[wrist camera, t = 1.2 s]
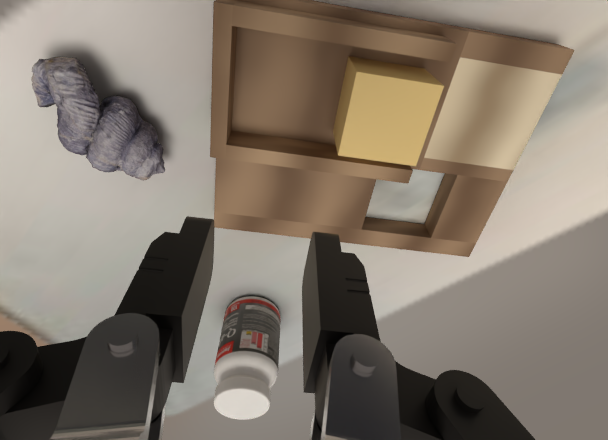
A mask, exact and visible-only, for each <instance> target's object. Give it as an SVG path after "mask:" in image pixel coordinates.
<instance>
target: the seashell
mask: <svg viewBox="0 0 608 440" xmlns="http://www.w3.org/2000/svg"><path fill="white" fill-rule="evenodd" d="M85 71H86V70H85V69H84V67H83V65H82V64H81V63H80V62H79V61H78V60H77V59H76V58H66V57H54V58H50V59H39V61H38V62H37V63H36V64H35V65H34V66H33V67H32V72H33V76H32V82H33V83H32V86H33V90H34V92H35V94H36V97H37V102H38V105H39V107H49V106H51V105H54V104H56V106H57V115H58V124H57V127H58V136H59V140H60V141H61V143H62V144H63V146H64V147H65V148H66V149H67V150H68V151H70V152H73V153H75V154H80V155H86V154H87V156H86V158H87V159H88V160H89V161H90V163H91V164H92V167H93V168H96V169H98V170H99V171H103V172H114V171H116V170H120V171H124V172H125V173H126V174H128V175H130V176H132V177H135V178H138V179H140V180H147V179H149V178H150V177H151V176H152V175H153V174H157V173H163V172H165V168H164V161H163V159H162V154H163V147H162V145H161V144H159V143H157V140H158V137H157V132H156V130H155V128H154V127H153V126H152V125H151V124H150V123H148V122H145V121H143V120H142V118H141V117H140V116H139V113H138V110H137V108H136V106H135V105H134V104H133V102H132V101H131V100H130V99H128V98H123V97H119V96H112V97H107V98H105V99H104V100H102V103H101V105H100V104H99V99H98V95H97V94H96V93H95V89H94V88H93V87H92V83H91V82H90V81H89V77H88V76H87V73H86V72H85Z"/></svg>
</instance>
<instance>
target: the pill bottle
mask: <svg viewBox="0 0 608 440" xmlns="http://www.w3.org/2000/svg"><path fill="white" fill-rule="evenodd" d="M279 338H280V313H279V310H278V308H277V307H276V306H275V305H274V304H273V303H272V302H270V301H269V300H267V299H264V298H261V297H255V296H248V297H242V298H239V299H237V300H235V301H234V302H232V303H231V304H230V305H229V306H228V308H227V310H226V313H225V317H224V322H223V327H222V332H221V337H220V342H219V347H218V352H217V357H216V362H215V368H214V376H215V379H216V381H217V383H218V385H217V387H216V390H215V397H214V406H215V408H216V410H217V411H218V412H219V413H221V414H222V415H224V416H226V417H229V418H233V419H242V420H243V419H252V418H256V417H259V416H261V415H263V414H264V413H266V411H267V410H268V409H269V406H270V397H271V391H270V388H271V387H272V386H273V384H274V383H275V381H276V379H277V374H278V359H279Z"/></svg>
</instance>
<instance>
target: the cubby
mask: <svg viewBox="0 0 608 440" xmlns="http://www.w3.org/2000/svg"><path fill="white" fill-rule="evenodd" d="M237 27H242V28H248V29H254V30H260V31H266V32H272V33H278V34H284V35H289V36H295V37H301V38H307V39H313V40H319V41H325V42H331V43H337V44H343V45H349V46H355V47H361V48H367V49H373V50H379V51H385V52H391V53H397V54H403V55H409V56H414V57H420V58H426V59H432V60H438V61H444V62H451V60H452V57H453V54H454V51H455V48H456V45H457V44H456V43H454V42H452V41H451V40H449V39H447V38H445V37H443V36H439V35H433V34H427V33H421V32H416V31H410V30H404V29H398V28H393V27H387V26H381V25H376V24H370V23H364V22H358V21H353V20H347V19H341V18H336V17H330V16H324V15H318V14H313V13H307V12H301V11H295V10H290V9H284V8H278V7H273V6H267V5H261V4H255V3H250V2H244V1H238V0H216V1H214V12H213V57H212V101H211V145H210V157H214V158H222V159H229V160H237V161H244V162H252V163H259V164H267V165H274V166H282V167H289V168H297V169H304V170H312V171H319V172H326V173H334V174H341V175H349V176H356V177H364V178H371V179H379V180H386V181H394V182H401V183H409V180H410V177H411V174H412V171H413V170H412V168H411V166H410V165H403V164H396V163H388V162H381V161H374V160H367V159H360V158H352V157H345V156H338V153H337V148H336V145H331V144H324V143H317V142H310V141H303V140H296V139H289V138H281V137H274V136H267V135H260V134H253V133H246V132H239V131H232V115H233V97H234V78H235V60H236V41H237Z"/></svg>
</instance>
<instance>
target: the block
mask: <svg viewBox="0 0 608 440" xmlns="http://www.w3.org/2000/svg"><path fill="white" fill-rule="evenodd" d="M443 88H444V85H442V84H441V83H440V82H439V81H438V80H437V79H436V78H435V77H433V76H432V75H431V74H430V73H429V72H428V71H427V70H426V69H424V68H418V67H412V66H406V65H399V64H393V63H387V62H381V61H375V60H369V59H363V58H357V57H351V56H348V61H347V66H346V71H345V76H344V80H343V85H342V90H341V95H340V100H339V105H338V109H337V114H336V119H335V124H334V129H333V134H334V139H335V143H336V148H337V153H338V156H345V157H352V158H360V159H367V160H374V161H381V162H388V163H396V164H403V165H410V166H416V165H417V162H418V159H419V156H420V153H421V150H422V148H423V145H424V142H425V139H426V136H427V133H428V131H429V128H430V125H431V122H432V119H433V116H434V114H435V111H436V108H437V105H438V102H439V99H440V96H441V94H442V91H443Z"/></svg>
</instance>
